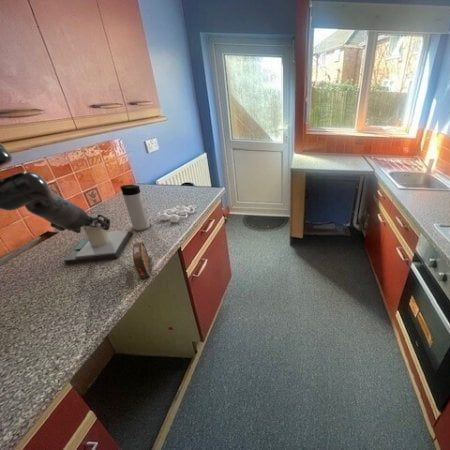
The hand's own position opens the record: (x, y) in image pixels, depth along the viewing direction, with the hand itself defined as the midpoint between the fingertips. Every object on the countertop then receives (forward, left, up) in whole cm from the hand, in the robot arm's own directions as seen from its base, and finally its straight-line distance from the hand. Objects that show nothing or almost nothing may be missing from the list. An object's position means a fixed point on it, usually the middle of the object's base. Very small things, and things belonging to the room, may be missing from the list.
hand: (93, 229), depth 89 cm
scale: (0, +1, -9) cm, 9 cm away
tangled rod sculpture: (+23, +26, -9) cm, 36 cm away
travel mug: (+10, +15, -9) cm, 20 cm away
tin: (+18, -16, -9) cm, 26 cm away
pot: (0, +1, -6) cm, 6 cm away
